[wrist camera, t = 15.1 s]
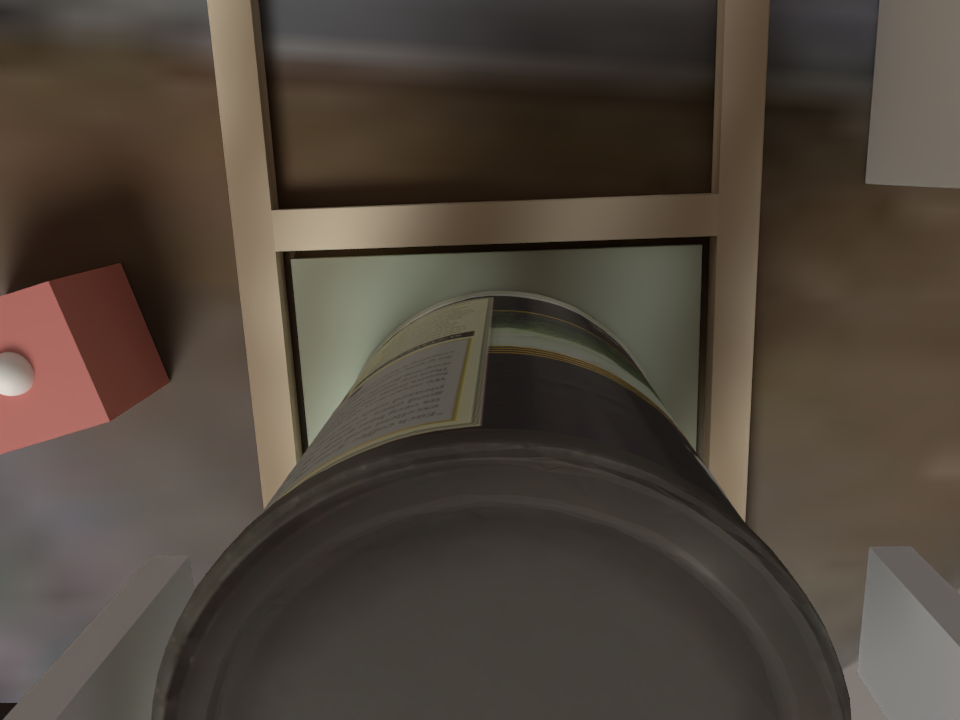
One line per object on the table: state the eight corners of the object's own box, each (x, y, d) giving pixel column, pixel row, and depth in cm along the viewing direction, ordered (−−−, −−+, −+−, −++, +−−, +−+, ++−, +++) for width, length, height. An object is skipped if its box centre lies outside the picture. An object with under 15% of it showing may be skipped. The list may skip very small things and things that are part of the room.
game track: (777, -380, 20) (789, -403, 19) (731, 648, 27) (738, 663, 26) (179, -345, 20) (166, -365, 20) (288, 656, 27) (281, 671, 27)
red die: (120, 262, 24) (35, 284, 20) (170, 382, 25) (99, 428, 21) (4, 299, 25) (-106, 329, 20) (57, 415, 25) (-37, 469, 21)
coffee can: (661, 277, 24) (883, 428, 10) (661, 584, 26) (838, 1048, 12) (323, 293, 24) (88, 461, 10) (354, 595, 26) (196, 1054, 13)
